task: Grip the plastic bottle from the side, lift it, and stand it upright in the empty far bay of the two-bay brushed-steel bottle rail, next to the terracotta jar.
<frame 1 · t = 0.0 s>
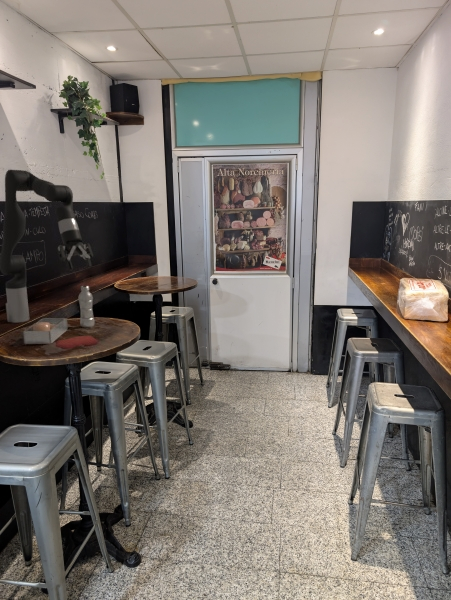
hand: (80, 269, 174), 31 cm above the table, tool tilted 20°, fingers open, 8 cm apart
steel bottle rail: (47, 337, 187), on the table
plastic bottle: (87, 327, 203), on the table
red cloth: (76, 345, 178), on the table
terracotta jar: (42, 339, 181), point 1 cm above the table, touching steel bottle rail
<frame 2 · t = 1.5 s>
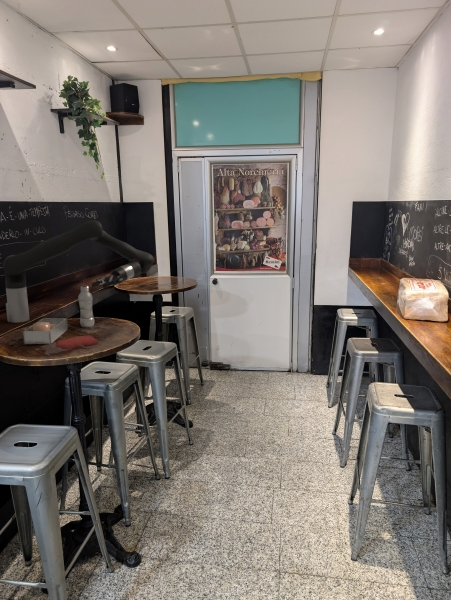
hand: (97, 286, 201), 20 cm above the table, tool horizontal, fingers open, 8 cm apart
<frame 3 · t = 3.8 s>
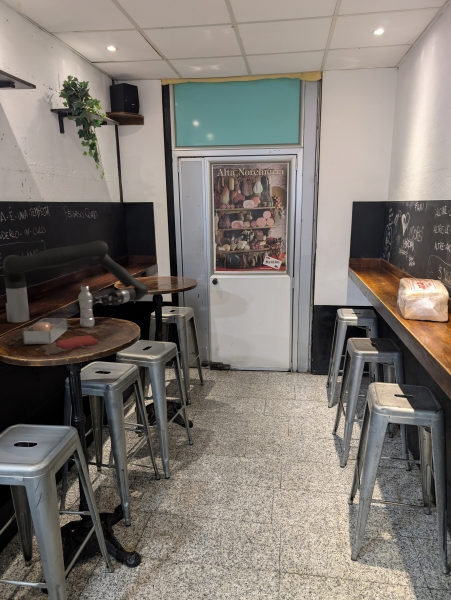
hand: (96, 302, 207), 11 cm above the table, tool horizontal, fingers open, 8 cm apart
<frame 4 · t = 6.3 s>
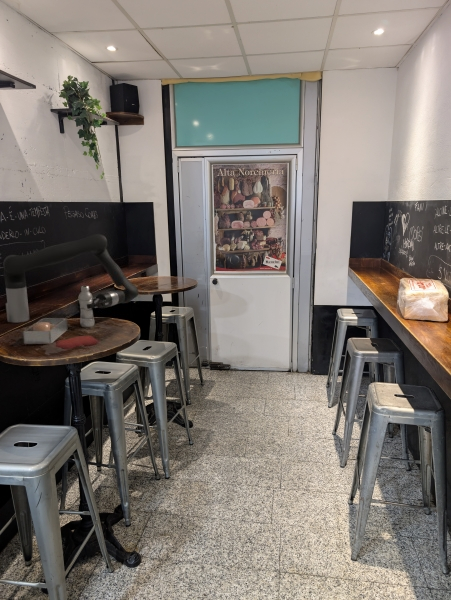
hand: (82, 305, 199), 11 cm above the table, tool horizontal, fingers closed on plastic bottle, 6 cm apart
plastic bottle: (87, 327, 203), on the table, touching gripper
everything else where it was.
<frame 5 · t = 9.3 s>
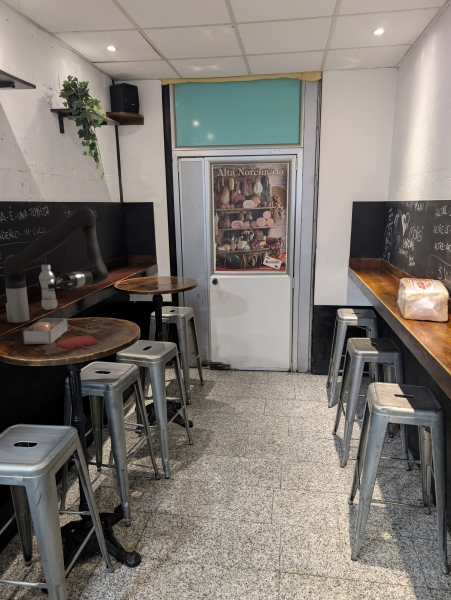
hand: (43, 286, 185), 23 cm above the table, tool horizontal, fingers closed on plastic bottle, 6 cm apart
plastic bottle: (50, 309, 189), point 11 cm above the table, touching gripper
everything else where it was.
when the fingers open (13 cm above the table, at t = 12.5 s): plastic bottle drops 1 cm, resting on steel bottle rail.
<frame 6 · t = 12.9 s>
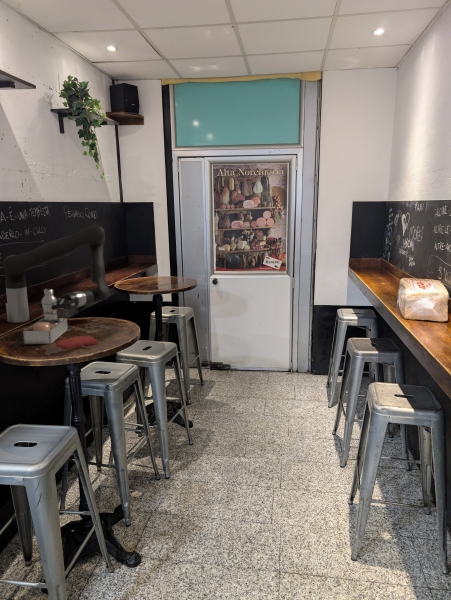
hand: (45, 306, 187), 13 cm above the table, tool horizontal, fingers open, 8 cm apart
plastic bottle: (52, 333, 192), resting on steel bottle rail
everything else where it was.
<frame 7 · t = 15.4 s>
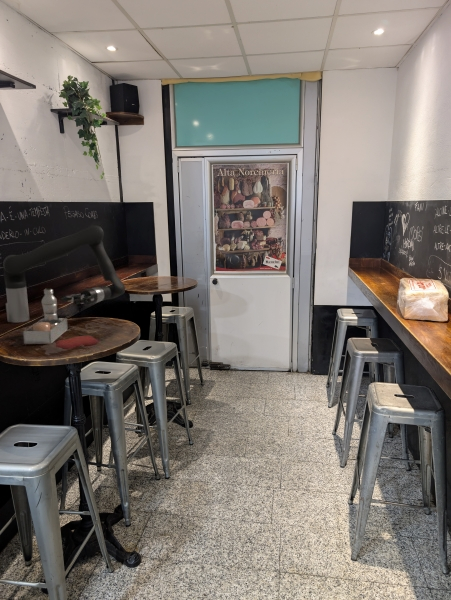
hand: (67, 301, 198), 13 cm above the table, tool horizontal, fingers open, 8 cm apart
nothing on the table moved.
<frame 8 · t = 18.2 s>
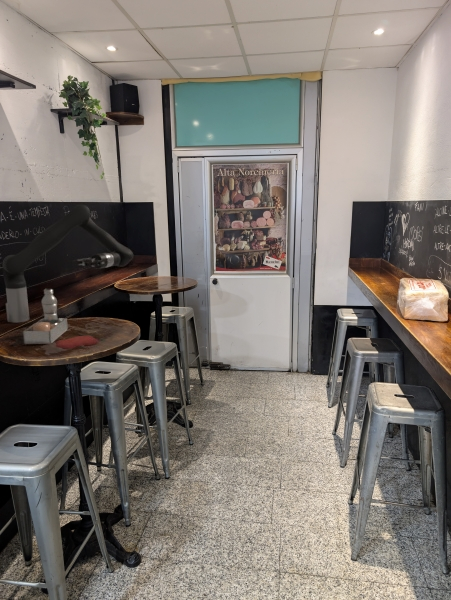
hand: (78, 263, 202), 30 cm above the table, tool horizontal, fingers open, 8 cm apart
nothing on the table moved.
at the end: plastic bottle 0.3 cm from the target spot on the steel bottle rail, point 0.4 cm above the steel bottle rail's base; plastic bottle tilted 0°; the gripper is holding nothing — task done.
